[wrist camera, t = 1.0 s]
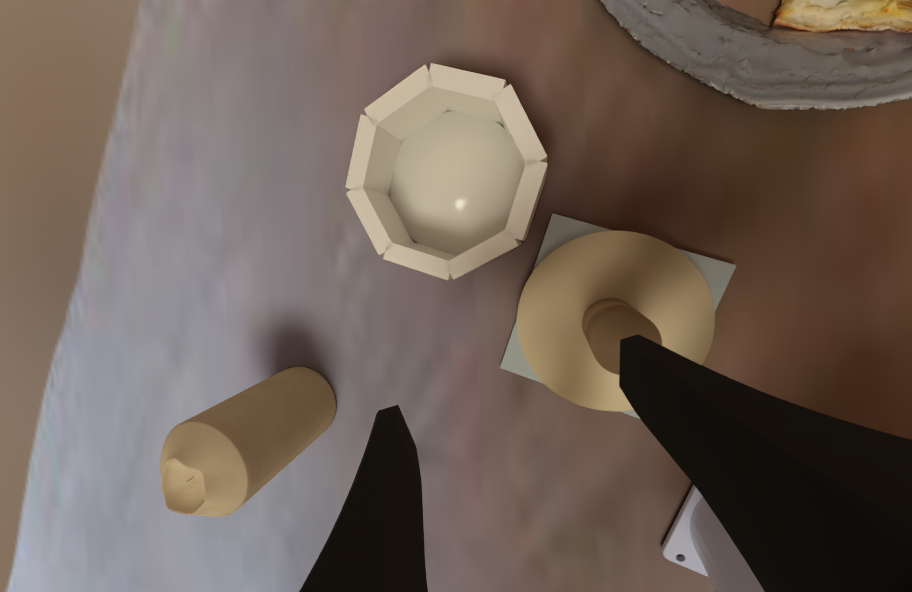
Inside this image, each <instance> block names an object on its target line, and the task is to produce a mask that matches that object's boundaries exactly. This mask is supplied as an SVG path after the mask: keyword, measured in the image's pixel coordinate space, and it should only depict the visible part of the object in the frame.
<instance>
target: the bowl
mask: <svg viewBox="0 0 912 592" xmlns="http://www.w3.org/2000/svg"><path fill="white" fill-rule="evenodd" d="M364 110H365V112H366V114H367V116H365V115H361V116H360V121H359V125H358V130H357V135H356V139H355V144H354V149H353V154H352V158H351V163H350V168H349V173H348V177H347V182H346V188H349V189H352V190H350V191H349V192H347V193H346V194H347V196H348V198H349V200H350V201H351V203H352V205H353V207H354V209H355V211H356V213H357V215H358V217H359V218H360V220H361V222H362V224H363V226H364V228H365V230H366V232H367V233H368V235H369V237H370V239H371V241H372V243H373V245H374V247H375V249H376V250H377V252H378V254H379V255H384V258H383V259H385V260H388V261H391V262H394V263H397V264H400V265H403V266H406V267H409V268H412V269H415V270H418V271H421V272H424V273H427V274H430V275H433V276H436V277H439V278H442V279H445V280H449V279H451V278H453V280H454V279H456V278H458V277H460V276H462V275H464V274H466V273H468V272H470V271H472V270H474V269H476V268H478V267H480V266H482V265H484V264H486V263H487V262H489V261H491V260H493V259H495V258H497V257H499V256H501V255H503V254H504V253H506V252H508V251H510V250H512V249H514V248H516V247H518V246H520V245H522V243H521V241H520V240H522V241H523V240H526V238H527V235H528V232H529V228H530V225H531V222H532V219H533V216H534V213H535V210H536V207H537V204H538V201H539V198H540V195H541V192H542V189H543V186H544V183H545V180H546V177H547V167H548V163H547V155H546V153H545V151H544V149H543V147H542V145H541V143H540V141H539V139H538V137H537V135H536V133H535V131H534V129H533V127H532V125H531V123H530V121H529V119H528V117H527V115H526V113H525V111H524V109H523V107H522V105H521V103H520V101H519V99H518V97H517V95H516V93H515V91H514V89H513V87H512V86H511V84H510V85H508V86H507V84H506V80H504V79H500V78H496V77H491V76H487V75H482V74H478V73H473V72H469V71H464V70H460V69H456V68H451V67H447V66H442V65H438V64H433V63H431V66H430V70H428V68H427V67H426V65H424V66H422V67H421V68H419V69H418V70H417V71H415V72H414V73H413V74H411V75H410V76H409V77H407V78H406V79H404V80H403V81H402V82H400V83H399V84H398V85H396V86H395V87H394V88H392V89H391V90H390V91H388V92H387V93H385V94H384V95H383V96H381V97H380V98H379V99H377V100H376V101H375V102H373V103H372V104H370V105H369V106H368V107H366V108H365V109H364ZM501 125H502V126H503V127H504V128H503V127H502V126H501Z"/></svg>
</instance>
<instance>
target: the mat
mask: <svg viewBox="0 0 912 592" xmlns="http://www.w3.org/2000/svg"><path fill="white" fill-rule="evenodd" d="M603 231H613V230H610V229H606V228H603V227H599V226H596V225H592V224H589V223H585V222H582V221H578V220H575V219H571V218H568V217H564V216H561V215H557V214H553V213H552V216H551V219H550V222H549V225H548V228H547V231H546V234H545V237H544V240H543V243H542V246H541V249H540V252H539V255H538V257H537V260H536V263H535V266H534V269H533V271H534V270H535V268H536V267H537V266H538V265H539V263H540V262H541V261H542V260H543V259H544V258H545V257H546V256H547V255H549V254H550V253H551V252H553V251H554V250H555V249H556V248H558V247H560V246H561V245H563V244H565V243H567V242H569V241H571V240H573V239H576V238H578V237H581V236H584V235H588V234H591V233H597V232H603ZM676 249H677V248H676ZM677 250H679V251H680V252H681V253H683V254H684V255H685V256H686V257H687V258H688V259H689V260H690V261H691V262H692V263H693V264H694V265H695V267H696V268H697V269H698V270H699V271H700V273H701V275H702V276H703V278H704V280H705V281H706V283H707V285H708V288H709V290H710V293H711V296H712V300H713V304H714V310H715V311H716V309H717V306H718V304H719V302H720V300H721V298H722V296H723V294H724V291H725V289H726V287H727V285H728V283H729V281H730V279H731V276H732V274H733V272H734V270H735V268H736V266H737V265H734V264H730V263H726V262H723V261H719V260H716V259H712V258H709V257H705V256H702V255H698V254H695V253H691V252H688V251H684V250H681V249H677ZM500 368H502V369H505V370H508V371H510V372H513V373H516V374H519V375H521V376H524V377H527V378H529V379H532V380H535V381H538V382H540V383H543V382H542V381H541V380H540V379H539V378H538V377H537V375H536V374H535V373H534V372H533V370H532V369H531V367H530V366H529V364H528V362H527V361H526V359H525V356H524V354H523V352H522V349H521V346H520V342H519V338H518V332H517V319H516V322H515V325H514V328H513V331H512V334H511V337H510V340H509V343H508V346H507V349H506V352H505V355H504V357H503V360H502V363H501V366H500ZM543 384H544V383H543ZM620 412H622V413H625V414H628V415H631V416H633V417H636V418H639V416H638V415H637V414H636V412H635V411H634V409H633V410H627V411H620ZM639 419H640V418H639Z"/></svg>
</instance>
